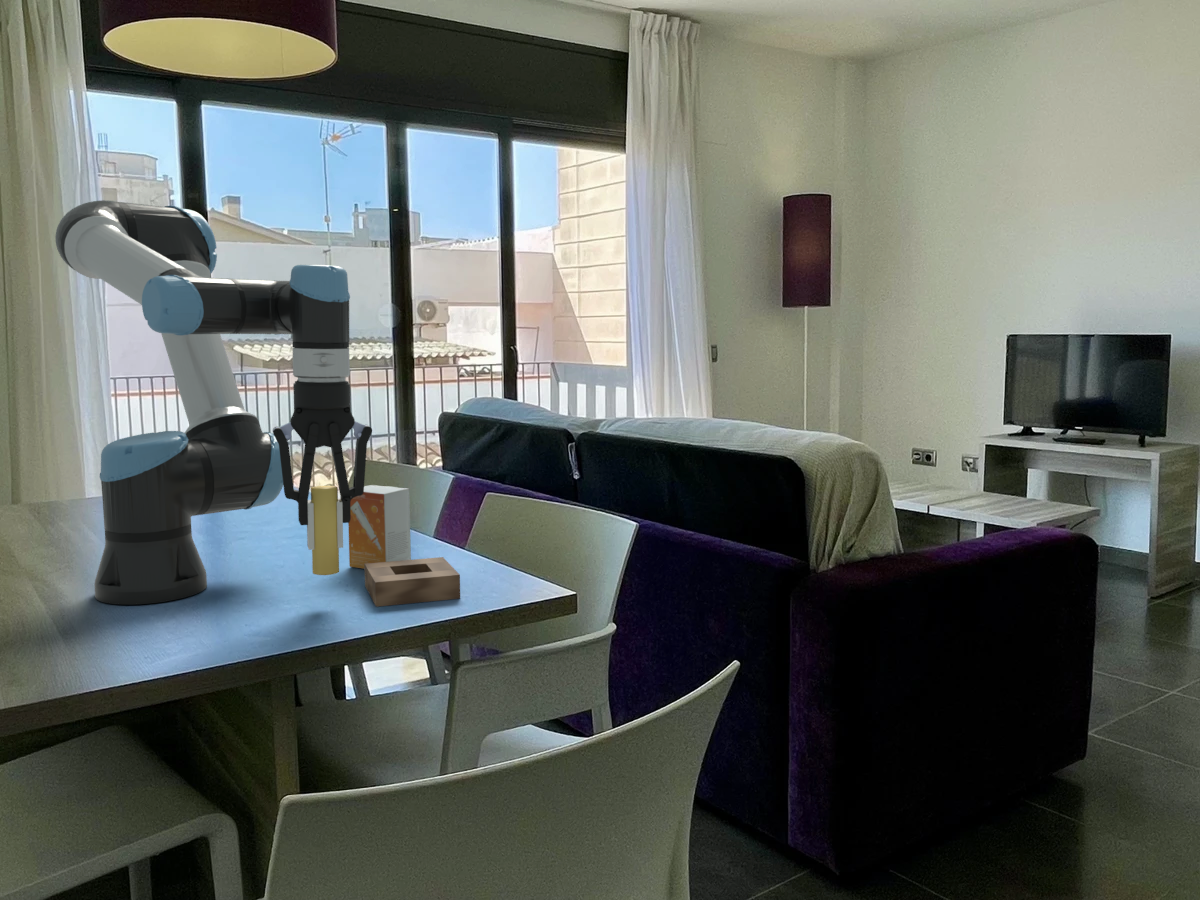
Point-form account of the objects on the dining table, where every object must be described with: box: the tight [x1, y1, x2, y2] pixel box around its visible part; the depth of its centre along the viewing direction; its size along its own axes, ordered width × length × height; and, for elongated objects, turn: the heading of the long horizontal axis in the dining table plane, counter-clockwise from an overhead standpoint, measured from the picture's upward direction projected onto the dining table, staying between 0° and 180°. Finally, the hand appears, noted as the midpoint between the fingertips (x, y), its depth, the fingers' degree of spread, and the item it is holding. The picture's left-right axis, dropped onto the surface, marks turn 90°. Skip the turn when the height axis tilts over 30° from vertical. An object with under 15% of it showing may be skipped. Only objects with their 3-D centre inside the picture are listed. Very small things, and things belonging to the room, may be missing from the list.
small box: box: [347, 484, 412, 570], centre depth 159 cm, size 8×6×13 cm
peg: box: [310, 485, 340, 576], centre depth 136 cm, size 4×4×12 cm
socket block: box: [364, 556, 461, 607], centre depth 144 cm, size 12×12×4 cm
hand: (325, 546), depth 137 cm, fingers closed on peg, 3 cm apart
